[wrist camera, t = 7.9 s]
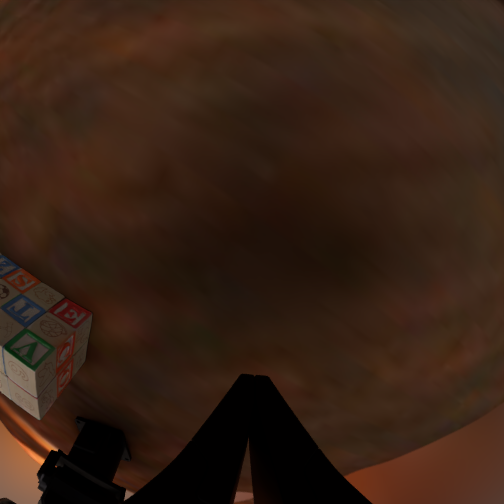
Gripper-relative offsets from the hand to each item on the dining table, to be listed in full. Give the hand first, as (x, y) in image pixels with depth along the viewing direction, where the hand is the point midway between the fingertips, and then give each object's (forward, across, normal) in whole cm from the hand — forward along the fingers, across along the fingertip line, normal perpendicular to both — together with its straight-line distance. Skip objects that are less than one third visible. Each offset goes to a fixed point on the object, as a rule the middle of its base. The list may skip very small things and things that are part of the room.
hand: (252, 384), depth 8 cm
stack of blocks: (+13, +24, +6) cm, 28 cm away
